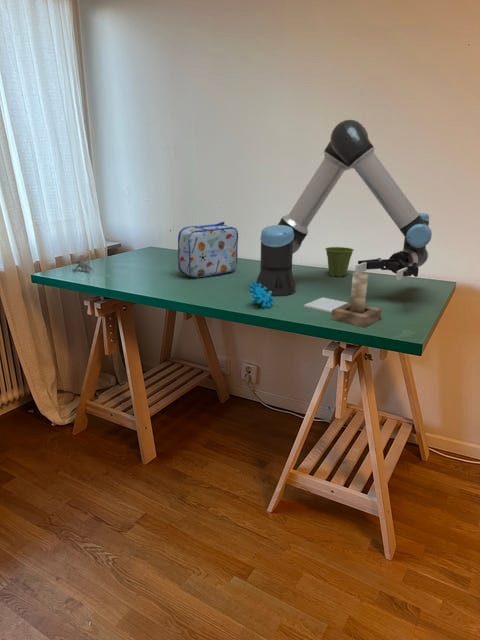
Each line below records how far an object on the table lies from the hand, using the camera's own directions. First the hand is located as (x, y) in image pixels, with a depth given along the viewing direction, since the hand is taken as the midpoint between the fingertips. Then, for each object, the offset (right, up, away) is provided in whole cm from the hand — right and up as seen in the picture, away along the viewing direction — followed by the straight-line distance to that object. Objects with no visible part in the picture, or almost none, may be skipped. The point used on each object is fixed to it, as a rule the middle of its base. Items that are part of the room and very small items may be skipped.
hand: (376, 272), depth 141 cm
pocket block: (-7, -14, -3) cm, 16 cm away
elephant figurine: (-111, +6, +57) cm, 125 cm away
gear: (-35, -10, +10) cm, 38 cm away
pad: (-13, -10, +10) cm, 19 cm away
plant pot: (-1, +4, +52) cm, 52 cm away
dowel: (-7, -14, -3) cm, 16 cm away
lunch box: (-56, +5, +53) cm, 77 cm away
